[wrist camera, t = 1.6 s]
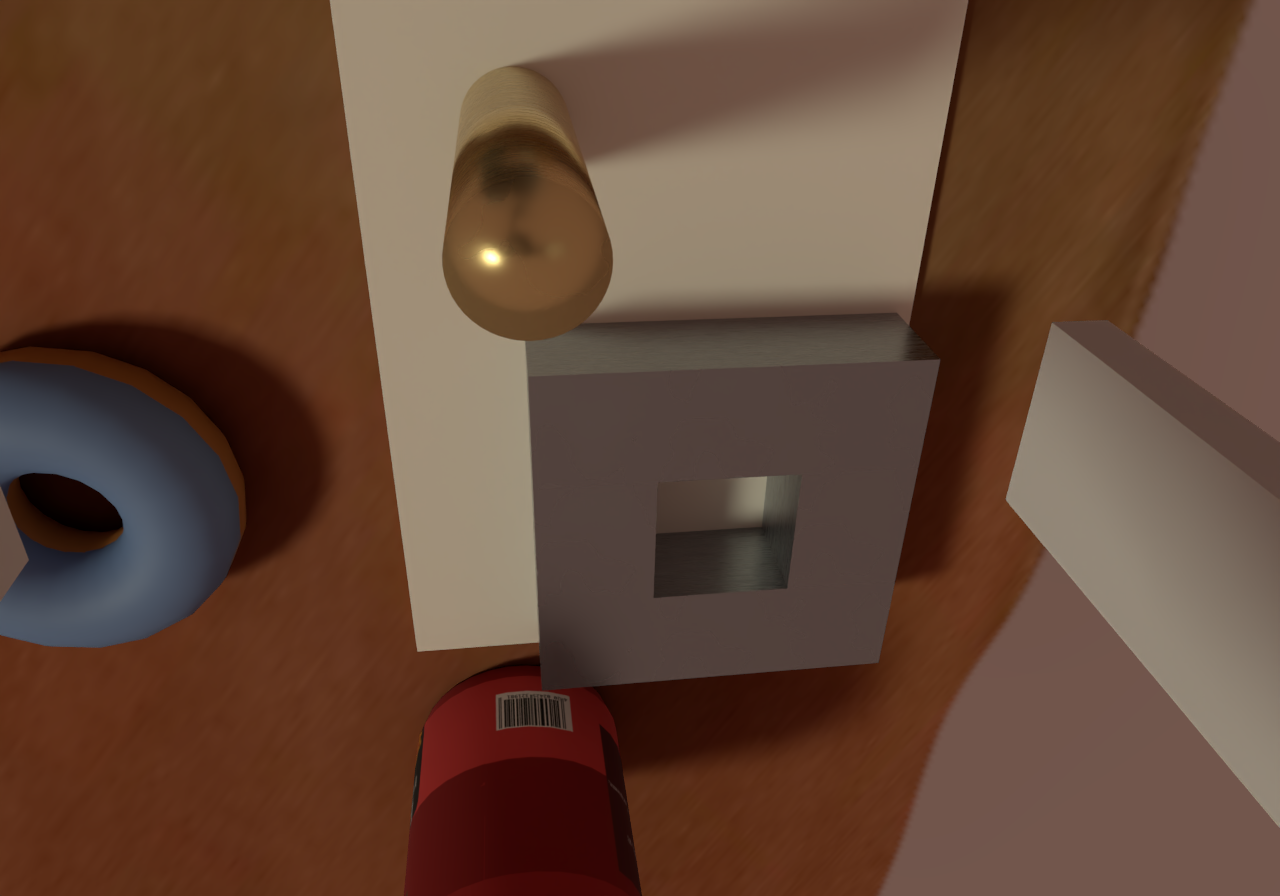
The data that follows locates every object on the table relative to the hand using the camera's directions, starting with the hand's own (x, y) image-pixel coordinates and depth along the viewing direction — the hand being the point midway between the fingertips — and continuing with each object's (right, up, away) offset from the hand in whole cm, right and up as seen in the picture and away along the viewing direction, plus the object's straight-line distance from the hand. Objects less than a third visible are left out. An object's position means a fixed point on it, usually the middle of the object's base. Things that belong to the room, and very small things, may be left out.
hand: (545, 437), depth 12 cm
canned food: (-4, -11, +27) cm, 30 cm away
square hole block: (+3, -1, +21) cm, 21 cm away
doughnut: (-16, -1, +19) cm, 25 cm away
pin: (-2, +9, +14) cm, 17 cm away
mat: (+2, +4, +18) cm, 19 cm away
